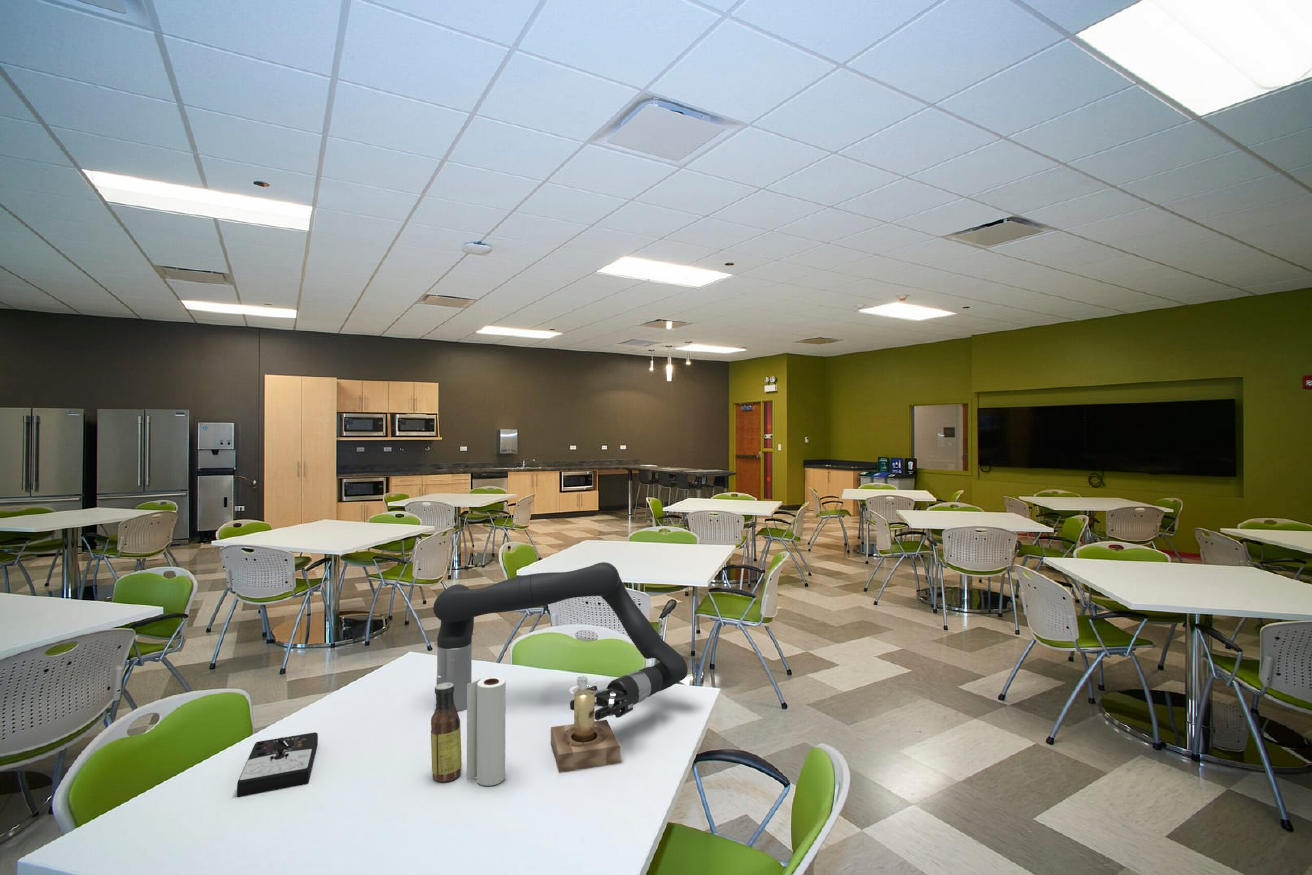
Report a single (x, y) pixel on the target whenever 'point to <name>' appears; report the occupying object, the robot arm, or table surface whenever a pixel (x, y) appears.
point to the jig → (584, 748)
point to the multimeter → (278, 764)
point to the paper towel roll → (486, 730)
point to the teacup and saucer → (580, 684)
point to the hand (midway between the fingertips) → (583, 710)
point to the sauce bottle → (445, 735)
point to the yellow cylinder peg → (584, 715)
